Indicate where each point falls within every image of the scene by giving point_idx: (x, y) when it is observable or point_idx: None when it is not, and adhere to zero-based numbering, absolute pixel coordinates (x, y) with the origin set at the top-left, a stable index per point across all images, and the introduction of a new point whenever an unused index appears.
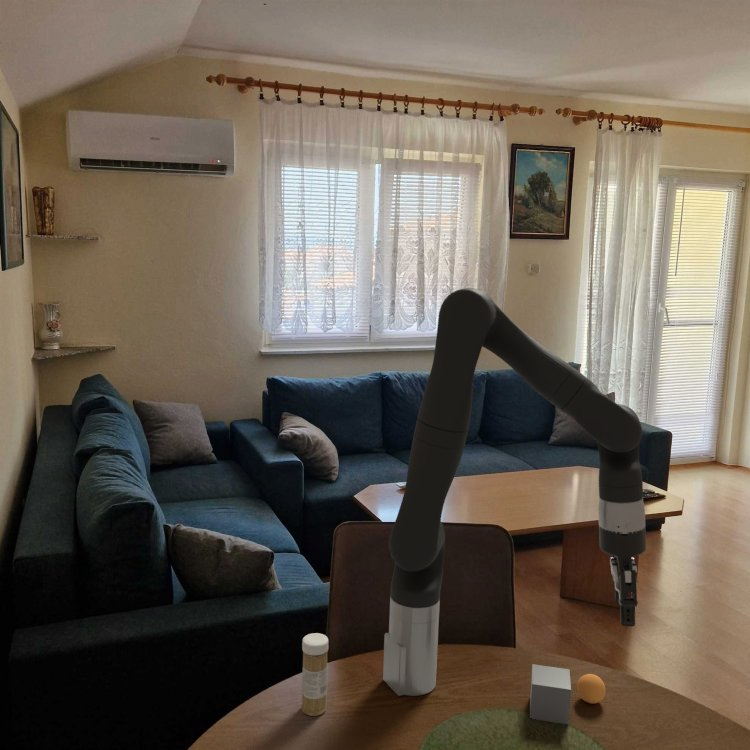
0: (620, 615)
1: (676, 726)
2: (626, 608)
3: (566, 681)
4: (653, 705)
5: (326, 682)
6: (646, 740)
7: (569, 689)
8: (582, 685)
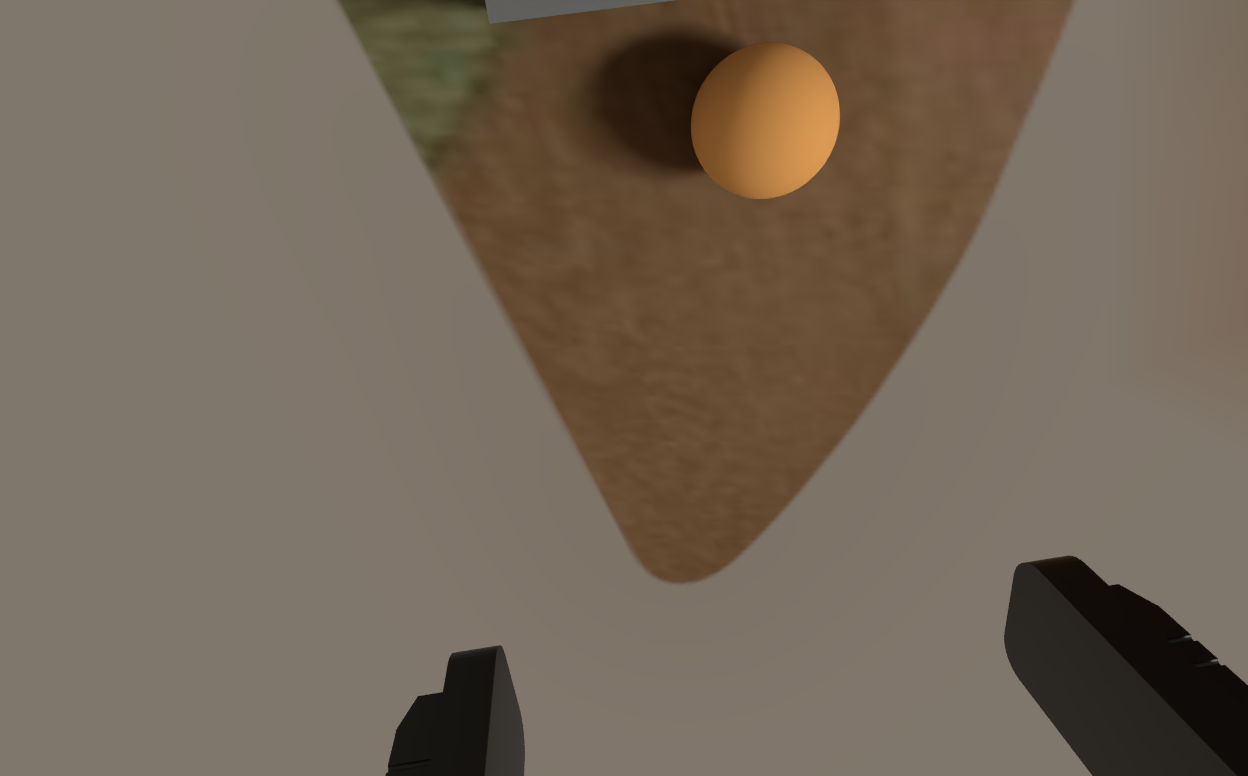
0: (485, 721)
1: (672, 433)
2: None
3: None
4: (785, 363)
5: None
6: (540, 344)
7: (488, 11)
8: (729, 79)
